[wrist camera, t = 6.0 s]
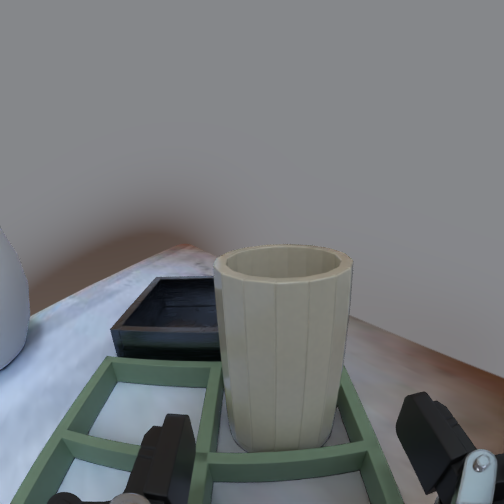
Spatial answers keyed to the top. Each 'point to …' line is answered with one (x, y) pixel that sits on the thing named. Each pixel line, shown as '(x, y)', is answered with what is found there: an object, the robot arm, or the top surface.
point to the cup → (282, 342)
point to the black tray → (171, 322)
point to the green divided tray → (204, 438)
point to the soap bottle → (12, 303)
